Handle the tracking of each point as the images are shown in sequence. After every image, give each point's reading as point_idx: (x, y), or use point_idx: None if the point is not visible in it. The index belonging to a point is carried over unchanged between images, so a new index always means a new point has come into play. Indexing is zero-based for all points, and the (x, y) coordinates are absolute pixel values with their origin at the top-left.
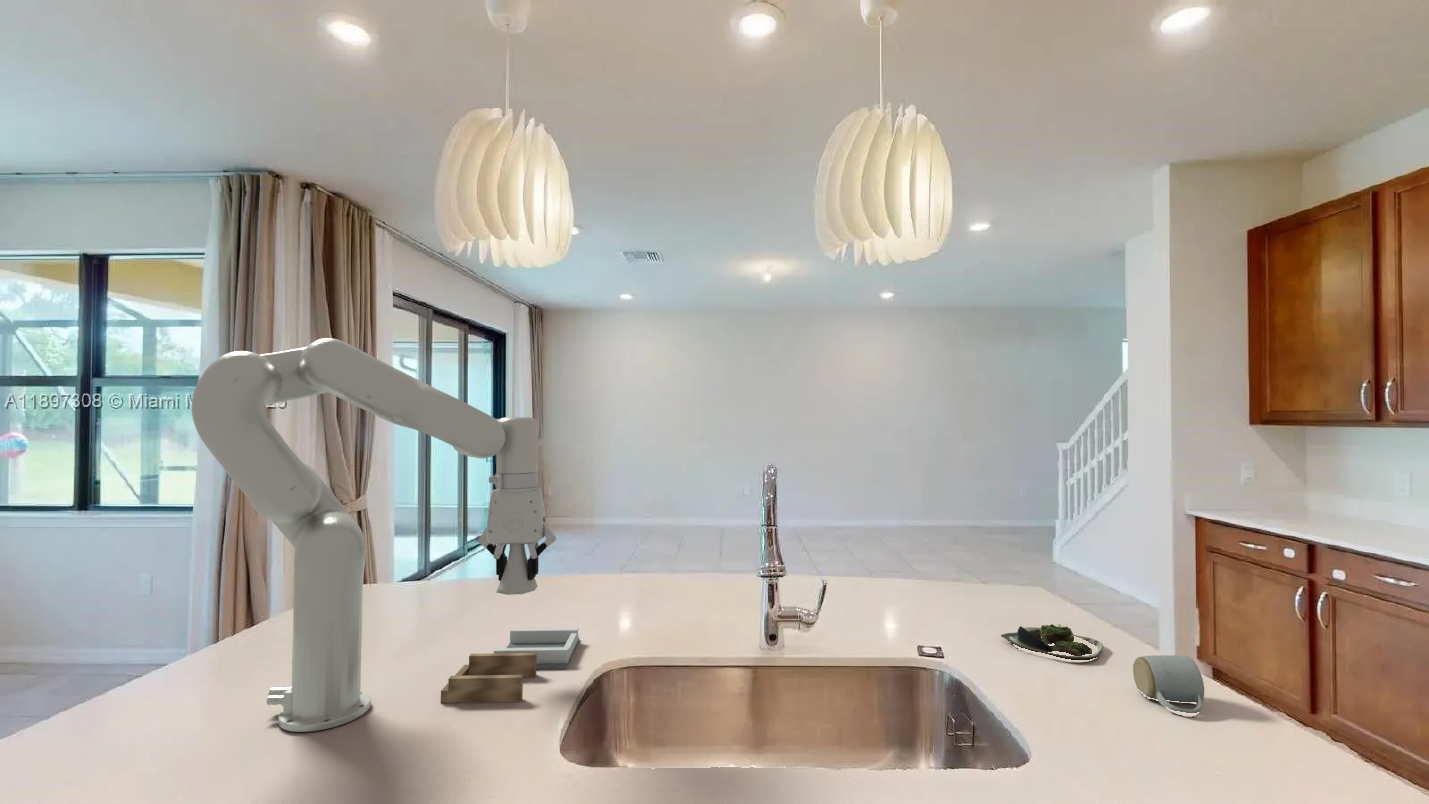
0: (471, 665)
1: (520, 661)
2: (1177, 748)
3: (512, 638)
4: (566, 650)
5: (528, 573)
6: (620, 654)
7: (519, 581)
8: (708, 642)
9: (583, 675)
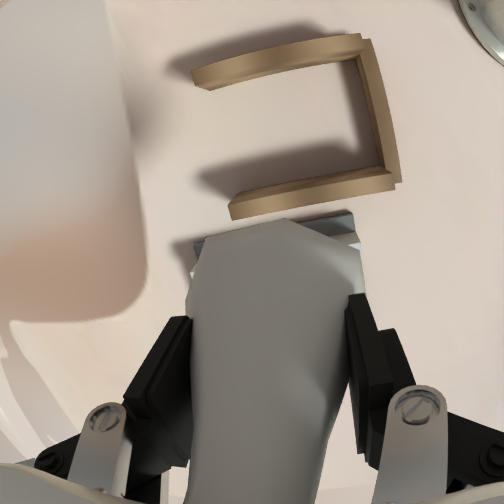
0: (381, 170)
1: (265, 193)
2: None
3: None
4: (191, 271)
5: (176, 336)
6: (138, 320)
7: (217, 279)
8: (62, 361)
9: (149, 221)
